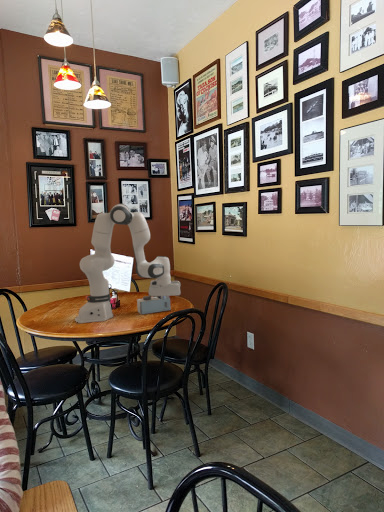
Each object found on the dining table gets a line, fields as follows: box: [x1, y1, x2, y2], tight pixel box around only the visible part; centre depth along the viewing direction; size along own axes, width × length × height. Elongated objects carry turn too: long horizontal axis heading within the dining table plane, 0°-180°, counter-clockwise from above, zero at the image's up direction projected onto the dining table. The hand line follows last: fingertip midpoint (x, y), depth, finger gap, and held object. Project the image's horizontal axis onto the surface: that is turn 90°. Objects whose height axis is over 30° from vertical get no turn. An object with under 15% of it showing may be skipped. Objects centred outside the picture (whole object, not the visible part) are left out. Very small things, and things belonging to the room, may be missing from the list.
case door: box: [140, 297, 172, 315], centre depth 222 cm, size 20×2×8 cm, turn 113°
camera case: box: [136, 295, 162, 315], centre depth 226 cm, size 13×8×10 cm, turn 114°
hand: (165, 302), depth 228 cm, fingers closed
